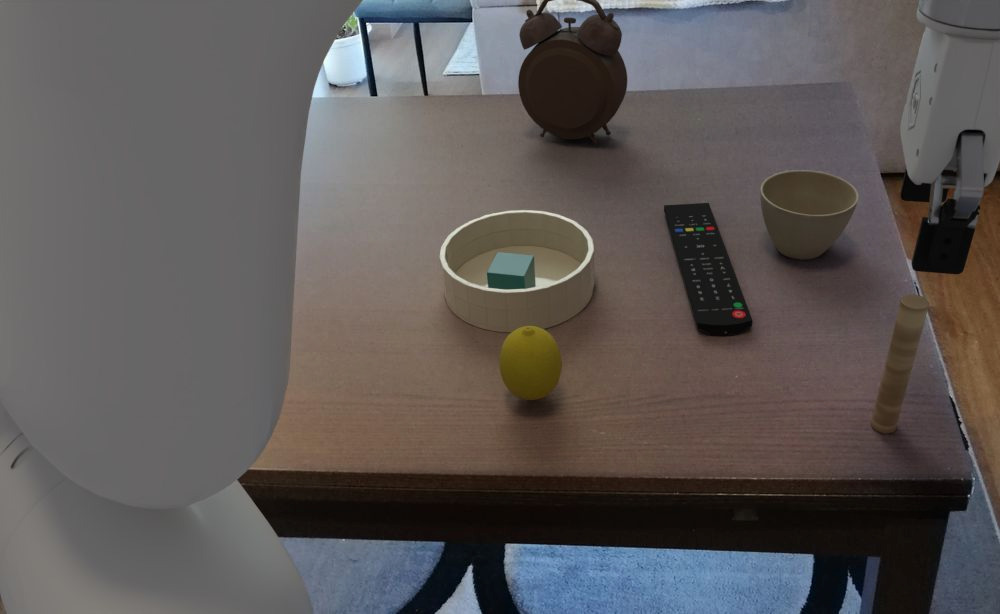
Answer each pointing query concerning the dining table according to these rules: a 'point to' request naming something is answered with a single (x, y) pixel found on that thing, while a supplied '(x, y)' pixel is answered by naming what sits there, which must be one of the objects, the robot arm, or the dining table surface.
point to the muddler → (899, 362)
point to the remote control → (707, 270)
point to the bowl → (556, 259)
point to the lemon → (530, 363)
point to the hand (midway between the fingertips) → (928, 233)
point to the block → (511, 271)
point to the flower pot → (806, 211)
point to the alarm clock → (572, 73)
